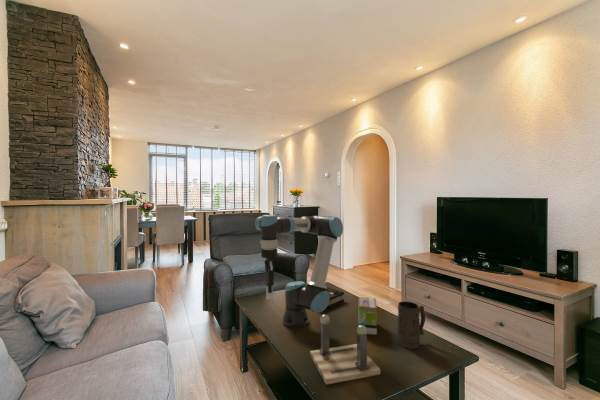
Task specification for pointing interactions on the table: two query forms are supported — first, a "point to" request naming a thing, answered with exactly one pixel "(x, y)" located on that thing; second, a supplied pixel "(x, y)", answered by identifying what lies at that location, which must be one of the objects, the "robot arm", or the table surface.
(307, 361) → the table surface
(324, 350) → the grey lever
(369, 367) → the switch panel
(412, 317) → the beer stein
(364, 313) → the tea box
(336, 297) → the decorative book
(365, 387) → the table surface
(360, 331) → the grey rounded post
